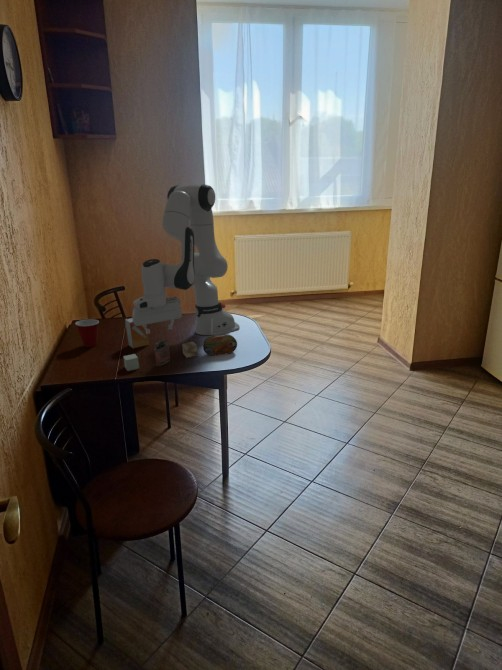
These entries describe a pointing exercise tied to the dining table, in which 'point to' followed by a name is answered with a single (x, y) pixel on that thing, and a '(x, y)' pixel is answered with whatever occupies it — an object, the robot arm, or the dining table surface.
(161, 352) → the lighter
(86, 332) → the plastic cup
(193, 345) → the cream rounded lump
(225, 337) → the tin
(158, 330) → the dining table surface
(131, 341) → the small box
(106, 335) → the dining table surface
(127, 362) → the sage block
